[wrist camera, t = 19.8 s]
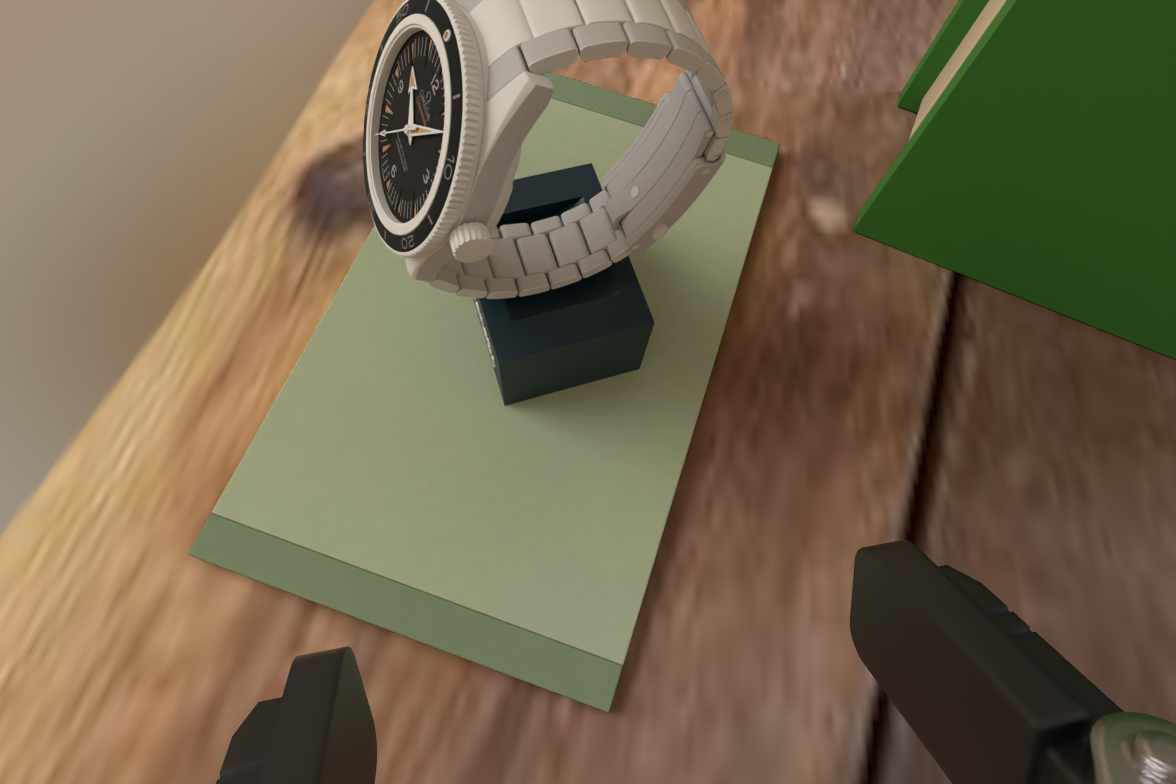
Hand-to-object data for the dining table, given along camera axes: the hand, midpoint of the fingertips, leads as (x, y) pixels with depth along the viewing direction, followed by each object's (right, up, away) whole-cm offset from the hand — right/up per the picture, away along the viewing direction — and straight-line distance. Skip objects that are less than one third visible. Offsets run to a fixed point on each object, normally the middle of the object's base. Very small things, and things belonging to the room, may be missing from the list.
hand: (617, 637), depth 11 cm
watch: (-2, +6, +11) cm, 13 cm away
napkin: (-2, +6, +11) cm, 13 cm away
